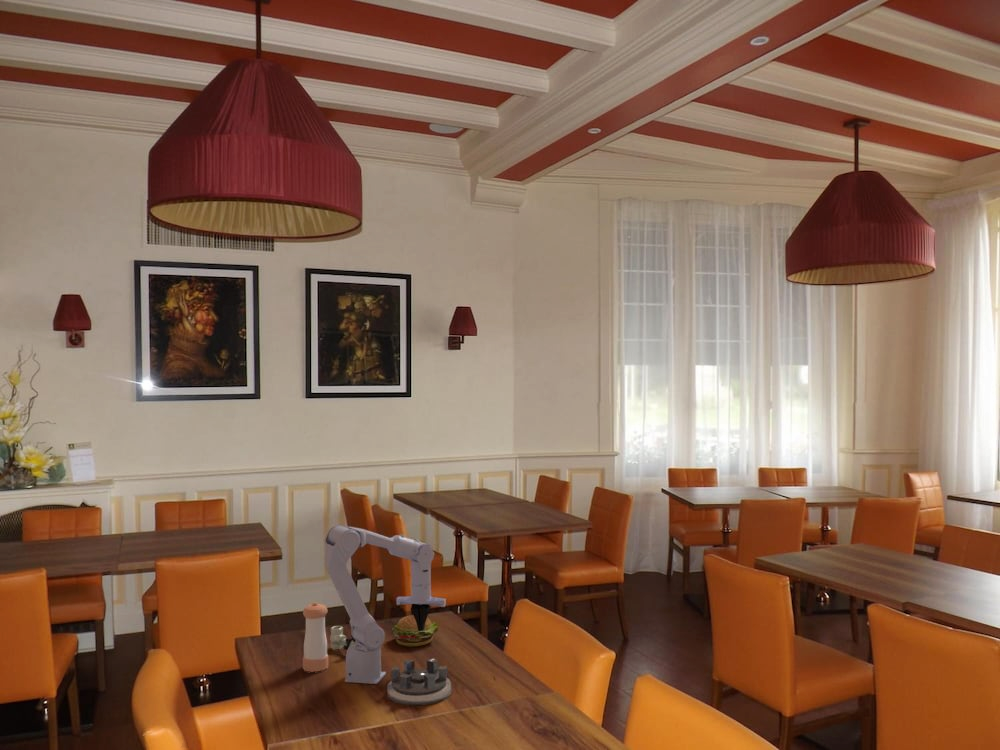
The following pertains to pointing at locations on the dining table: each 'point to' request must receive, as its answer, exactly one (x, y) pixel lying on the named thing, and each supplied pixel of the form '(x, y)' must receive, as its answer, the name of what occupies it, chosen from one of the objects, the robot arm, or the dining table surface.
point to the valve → (340, 639)
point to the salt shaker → (315, 638)
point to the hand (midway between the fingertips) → (421, 629)
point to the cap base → (418, 696)
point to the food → (413, 632)
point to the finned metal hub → (419, 678)
